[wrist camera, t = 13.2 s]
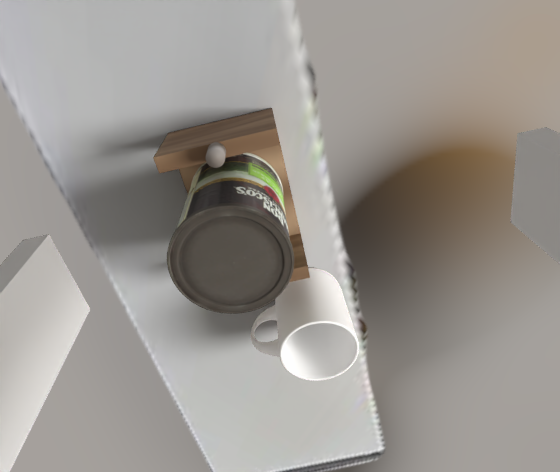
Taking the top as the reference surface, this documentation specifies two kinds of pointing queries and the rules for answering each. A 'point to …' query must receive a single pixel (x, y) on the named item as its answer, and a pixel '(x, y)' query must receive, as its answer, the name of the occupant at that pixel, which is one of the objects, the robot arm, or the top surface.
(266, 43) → the top surface
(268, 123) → the cradle
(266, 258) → the coffee can
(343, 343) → the mug
